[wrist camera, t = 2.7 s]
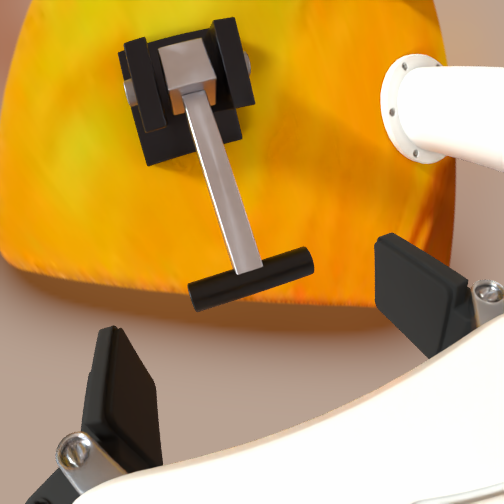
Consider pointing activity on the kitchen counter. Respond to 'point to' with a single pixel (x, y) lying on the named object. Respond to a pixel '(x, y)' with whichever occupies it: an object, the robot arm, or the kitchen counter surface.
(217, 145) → the lever
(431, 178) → the kitchen counter surface
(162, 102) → the bracket
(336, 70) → the kitchen counter surface
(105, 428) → the robot arm
